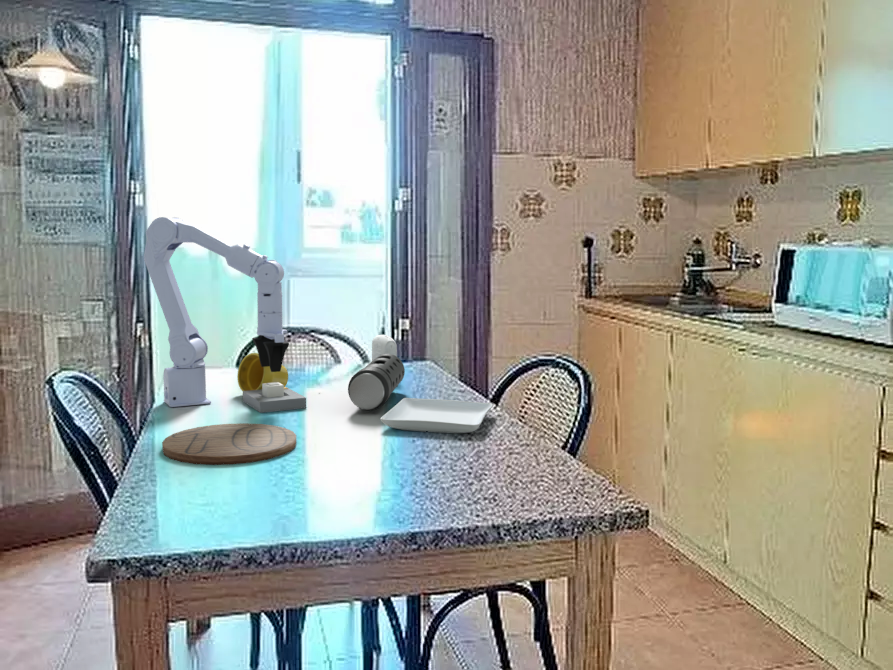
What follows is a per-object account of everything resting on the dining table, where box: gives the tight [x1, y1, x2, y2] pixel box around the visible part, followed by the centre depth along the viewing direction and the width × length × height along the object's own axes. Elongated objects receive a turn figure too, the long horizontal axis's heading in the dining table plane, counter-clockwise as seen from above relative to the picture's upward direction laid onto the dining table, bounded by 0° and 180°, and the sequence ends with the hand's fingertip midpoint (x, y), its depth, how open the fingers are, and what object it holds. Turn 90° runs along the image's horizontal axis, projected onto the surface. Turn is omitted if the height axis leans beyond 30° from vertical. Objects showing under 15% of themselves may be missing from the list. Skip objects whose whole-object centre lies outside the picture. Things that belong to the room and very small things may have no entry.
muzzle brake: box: [347, 354, 406, 411], centre depth 199 cm, size 10×28×10 cm, turn 174°
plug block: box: [262, 382, 284, 398], centre depth 196 cm, size 4×4×5 cm
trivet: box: [161, 422, 297, 466], centre depth 159 cm, size 25×25×2 cm
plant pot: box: [236, 352, 289, 392], centre depth 209 cm, size 10×10×10 cm
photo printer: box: [371, 334, 398, 365], centre depth 231 cm, size 10×4×12 cm, turn 28°
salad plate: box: [380, 397, 494, 434], centre depth 180 cm, size 21×21×3 cm
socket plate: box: [242, 386, 307, 414], centre depth 196 cm, size 11×14×3 cm
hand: (270, 368), depth 196 cm, fingers open, 7 cm apart
